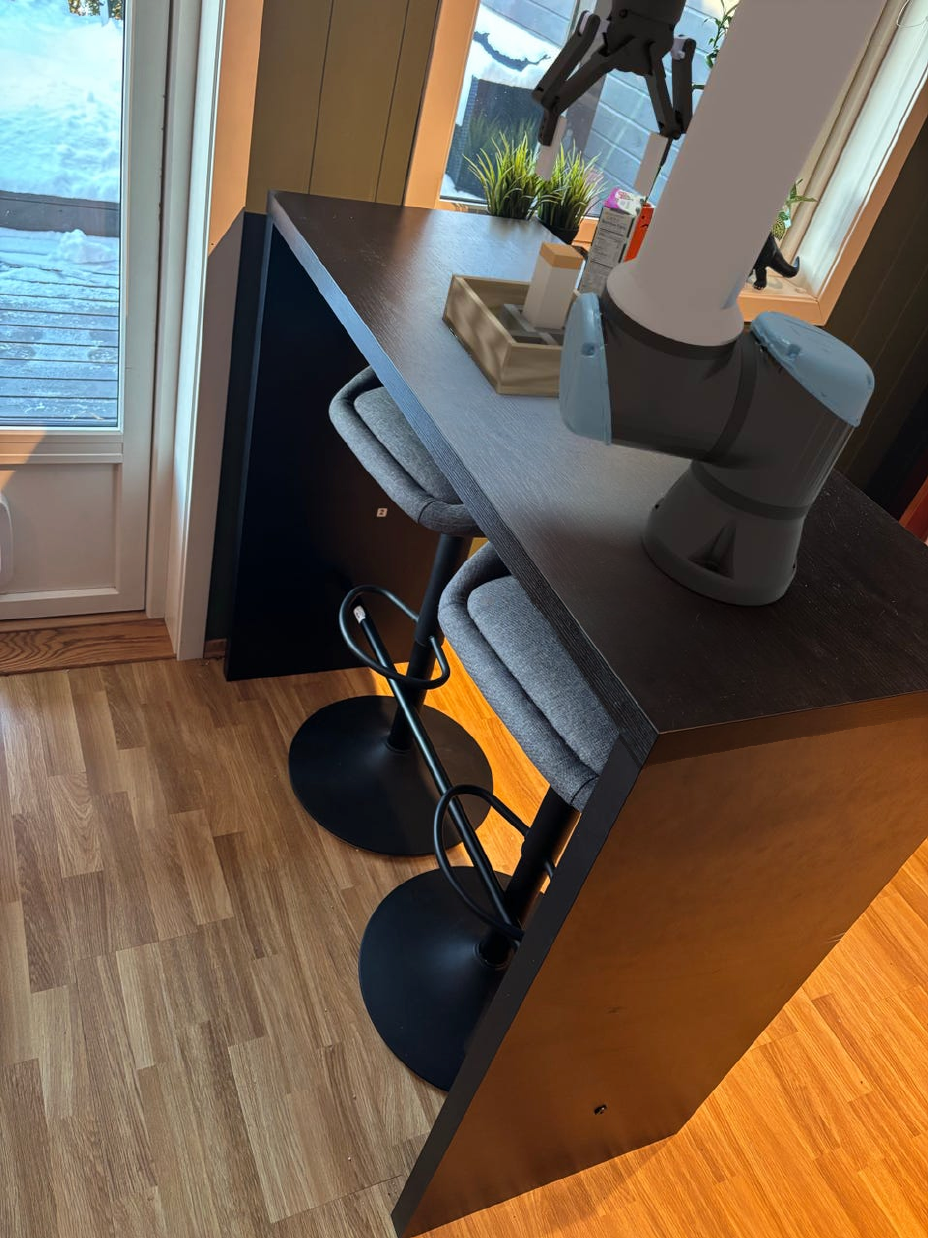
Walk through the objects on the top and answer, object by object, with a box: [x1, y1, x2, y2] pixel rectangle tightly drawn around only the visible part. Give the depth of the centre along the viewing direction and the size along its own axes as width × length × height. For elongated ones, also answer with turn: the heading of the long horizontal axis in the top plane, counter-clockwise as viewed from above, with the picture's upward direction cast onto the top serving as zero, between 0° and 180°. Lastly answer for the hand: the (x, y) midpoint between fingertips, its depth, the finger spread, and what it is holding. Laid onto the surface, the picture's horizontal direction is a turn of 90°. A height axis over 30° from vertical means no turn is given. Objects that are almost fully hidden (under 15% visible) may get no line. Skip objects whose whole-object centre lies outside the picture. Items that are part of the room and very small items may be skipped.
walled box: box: [441, 273, 580, 398], centre depth 120 cm, size 20×18×6 cm
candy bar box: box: [576, 187, 646, 296], centre depth 135 cm, size 11×5×16 cm, turn 164°
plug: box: [522, 241, 585, 329], centre depth 120 cm, size 4×4×12 cm
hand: (592, 185), depth 111 cm, fingers open, 13 cm apart
